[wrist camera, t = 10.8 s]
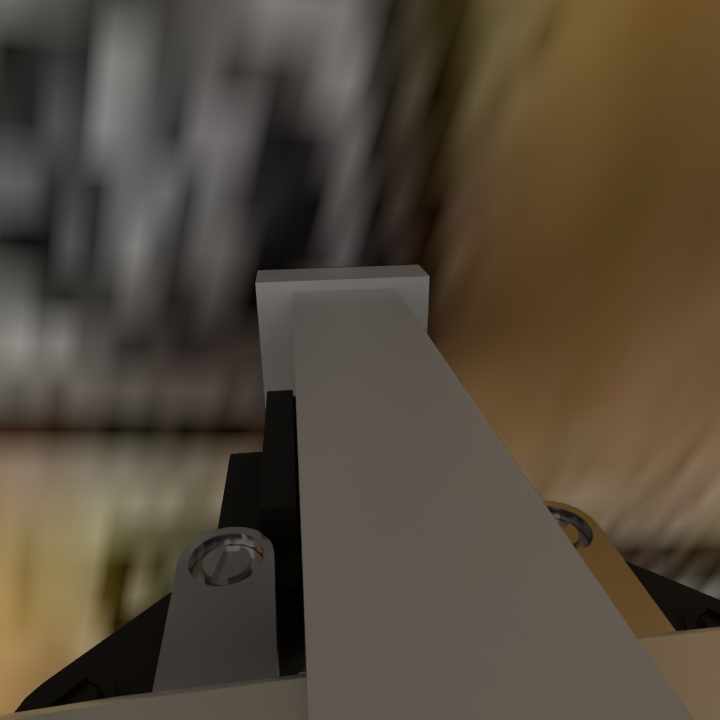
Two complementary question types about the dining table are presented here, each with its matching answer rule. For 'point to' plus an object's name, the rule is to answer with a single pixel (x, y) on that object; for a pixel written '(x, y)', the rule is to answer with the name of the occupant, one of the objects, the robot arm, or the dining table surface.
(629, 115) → the dining table surface
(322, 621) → the grey parking meter
